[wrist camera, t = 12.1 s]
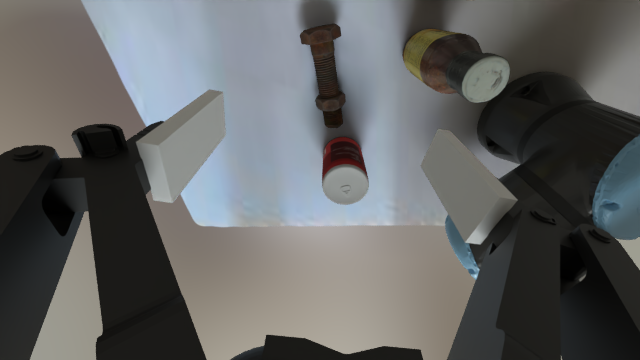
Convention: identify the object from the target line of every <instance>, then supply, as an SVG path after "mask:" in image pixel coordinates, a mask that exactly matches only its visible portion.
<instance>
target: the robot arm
mask: <svg viewBox="0 0 640 360" xmlns="http://www.w3.org/2000/svg"><path fill="white" fill-rule="evenodd" d="M477 133H478V138H479V141H480V143H481V144H482V146H483V147H484V148H485V149H486V150H488V151H489V152H490V153H491V154H493V155H494V156H496V157H498V158H501V159H504V160H507V161H511V162H514V163H517V164H520V165H519V166H518V167H516V168H515V169H513V170H512V171H510V172H509V173H507V174H506V175H504V176H503V177H501V178H500V179H498V178H496V177H495V176H494V175H493V174H492V173H491V172H490V171H489V170H488V169H487V168H486V167H485V166H484V165H483V164H482V163H481V162H480V161H479V160H478V159H477V158H476V157H475V156H474V155H473V154H472V153H471V152H470V151H469V150H468V149H467V148H466V147H465V146H464V145H463V144H462V143H461V141H460V140H459V139H458V138H457V137H456V136H455V135H454V134H453V133H452V132H451V131H448V130H443V129H438V130H437V132H436V135H435V137H434V139H433V141H432V143H431V145H430V147H429V149H428V151H427V153H426V155H425V157H424V159H423V162H422V164H421V168H422V169H423V171H424V173H425V175H426V176H427V178H428V180H429V181H430V183H431V185H432V187H433V188H434V190H435V192H436V193H437V195H438V197H439V199H440V200H441V202H442V204H443V206H444V207H445V209H446V211H447V212H448V216H447V217H446V221H445V229H446V233H447V236H448V239H449V242H450V244H451V246H452V248H453V250H454V252H455V254H456V256H457V257H458V259H459V260H460V262H461V263H462V265H463V266H464V267H465V268H466V269H468V271H469V273H470V275H471V276H472V277H473V278H474V279H475V280H476V282H475V284H474V287H473V290H472V293H471V295H470V298H469V301H468V304H467V307H466V309H465V312H464V315H463V317H462V320H461V323H460V326H459V328H458V331H457V334H456V337H455V339H454V342H453V345H452V348H451V350H450V353H449V356H448V359H447V360H561V356H562V360H640V270H639V269H638V267H637V266H636V265H635V263H634V262H633V260H632V259H631V258H630V257H629V255H628V254H627V252H626V251H625V249H624V248H623V247H622V245H621V244H620V243H619V242H618V241H617V240H616V239H615V238H617V239H623V240H633V239H636V238H638V237H640V117H639V116H636V115H633V114H631V113H628V112H625V111H622V110H619V109H616V108H613V107H610V106H607V105H604V104H601V103H599V102H596V101H594V100H593V99H592V98H591V97H590V96H589V94H588V93H587V92H586V91H585V90H584V89H583V88H582V87H581V86H580V85H579V84H578V83H577V82H576V81H575V80H573V79H571V78H569V77H567V76H564V75H560V74H557V73H553V72H539V73H534V74H530V75H527V76H524V77H522V78H519V79H517V80H515V81H513V82H512V83H510V84H509V85H507V86H506V87H504V89H503V90H502V91H501V92H500V93H499V94H498V95H497V96H495V97H494V98H492V99H491V100H490V102H489V103H488V104H487V106H486V107H485V109H484V110H483V112H482V114H481V116H480V119H479V122H478V128H477ZM225 135H226V131H225V116H224V101H223V92H221V91H215V90H208V91H207V92H205V93H204V94H203V95H201V96H200V97H198V98H197V99H196V100H194V101H193V102H191V103H190V104H189V105H187V106H186V107H184V108H183V109H182V110H180V111H179V112H177V113H176V114H175V115H173V116H172V117H170V118H169V119H168V120H166V121H165V122H164V121H160V122H157V123H154V124H151V125H149V126H148V127H146V128H145V129H143V131H140V132H139V133H137V135H134V136H133V137H131V138H130V139H128V140H127V141H126V140H125V137H124V134H123V131H122V129H121V128H120V127H119V126H116V125H111V124H94V125H88V126H84V127H81V128H78V129H77V130H75V131H73V133H72V138H73V139H74V142H75V144H76V146H77V148H78V150H79V152H80V154H81V156H82V158H59V156H58V154H57V152H56V151H55V149H54V148H52V147H49V146H45V145H33V146H22V147H17V148H14V149H12V150H10V151H7V152H5V153H3V154H1V155H0V360H30V357H31V354H32V351H33V349H34V346H35V344H36V341H37V338H38V335H39V333H40V330H41V327H42V325H43V322H44V319H45V317H46V314H47V311H48V308H49V306H50V303H51V300H52V298H53V295H54V292H55V290H56V287H57V284H58V282H59V279H60V276H61V274H62V271H63V268H64V265H65V263H66V260H67V257H68V255H69V252H70V249H71V246H72V244H73V241H74V238H75V236H76V233H77V230H78V228H79V225H80V222H81V220H82V217H83V214H84V212H85V211H88V212H89V219H90V228H91V236H92V244H93V251H94V260H95V268H96V276H97V284H98V292H99V300H100V308H101V316H102V324H103V333H102V335H101V336H99V337H98V338H97V342H96V360H206V357H205V354H204V352H203V349H202V346H201V343H200V341H199V338H198V335H197V333H196V330H195V327H194V324H193V322H192V319H191V316H190V314H189V311H188V308H187V305H186V303H185V300H184V298H183V296H182V294H181V291H180V288H179V286H178V283H177V280H176V278H175V275H174V272H173V269H172V267H171V264H170V261H169V258H168V256H167V253H166V250H165V247H164V245H163V242H162V239H161V237H160V234H159V231H158V228H157V225H156V223H155V220H154V217H153V215H152V212H151V209H150V206H149V204H148V201H147V198H146V194H147V193H148V192H149V191H150V190H151V192H152V196H153V199H154V201H161V202H169V203H173V202H174V201H175V199H176V198H177V197H178V195H179V194H180V193H181V192H182V190H183V189H184V188H185V187H186V185H187V184H188V183H189V182H190V180H191V179H192V178H193V176H194V175H195V174H196V173H197V171H198V170H199V169H200V167H201V166H202V165H203V164H204V162H205V161H206V160H207V158H208V157H209V156H210V155H211V153H212V152H213V151H214V150H215V148H216V147H217V146H218V144H219V143H220V142H221V141H222V139H223V138H224V137H225ZM231 360H423V358H422V354H421V350H418V349H407V348H398V347H388V346H383V347H378V348H374V349H370V350H366V351H361V352H356V353H352V354H342V353H340V352H338V351H335V350H333V349H330V348H328V347H325V346H323V345H320V344H318V343H315V342H313V341H311V340H308V339H305V338H296V337H285V336H275V335H266V339H265V345H264V346H261V347H257V348H253V349H251V350H248V351H245V352H243V353H241V354H239V355H237V356H235V357H234V358H232V359H231Z"/></svg>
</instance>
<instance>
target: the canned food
mask: <svg viewBox="0 0 640 360" xmlns="http://www.w3.org/2000/svg"><path fill="white" fill-rule="evenodd" d="M322 186H323V191H324V193H325V195H326V196H327V198H328V199H330V200H331V201H333V202H335V203H337V204H342V205H348V204H353V203H356V202H358V201H360V200H361V199H362V198H363V197H364V196H365V195H366V193H367V191H368V187H369V182H368V176H367V172H366V168H365V164H364V160H363V155H362V151H361V148H360V147H359V145H358V144H357V143H356V142H355V141H354V140H352V139H350V138H347V137H338V138H335V139H333V140H331V141H330V142H329V143H328V144H327V146H326V147H325V149H324V152H323V173H322Z"/></svg>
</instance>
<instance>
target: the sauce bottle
mask: <svg viewBox="0 0 640 360" xmlns="http://www.w3.org/2000/svg"><path fill="white" fill-rule="evenodd" d="M403 60H404V63H405V66H406V68H407V69H408V70H409V71H410V72H411V73H412V74H413V75H414V76H416V77H417V78H418V79H420V80H421V81H422V82H423V83H425V84H426V85H427V86H429V87H430V88H432V89H434V90H435V91H438V92H440V93H445V94H451V93H456V92H458V93H459V94H460V95H461V96H462V97H464V98H465V99H466V100H468V101H470V102H474V103H479V102H485V101H488V100H490V99H492V98H494V97H495V96H497V95H498V94H499V93H500V92H501V91H502V90H503V89H504V87H505V86H506V84H507V82H508V79H509V76H510V67H509V63H508V62H507V60H506V59H504V58H503V57H501V56H498V55H496V54H492V53H484V54H483V53H482V51H481V49H480V46H479V43H478V42H477V41H476V40H475V39H474V38H473V37H471V36H469V35H466V34H462V33H455V32H449V31H443V30H437V29H425V30H422V31H420V32H418V33H416V34H414V35H413V36H412V37H411V38H410V39H409V40H408V42H407V44H406V46H405V48H404V51H403Z"/></svg>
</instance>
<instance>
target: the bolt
mask: <svg viewBox="0 0 640 360" xmlns="http://www.w3.org/2000/svg"><path fill="white" fill-rule="evenodd" d="M340 36H341V30H340V27H339V26H338V25H337V24H329V25H323V26H318V27H314V28H310V29H307V30H304V31H303V32H302V33H301V35H300V38H301V43H302V44H306V45H310V47H311V52H312V55H313V59H314V62H315V63H314V64H315V69H316V70H315V71H316V76H317V80H318V81H317V82H318V87H319V91H320V92H319V93H320V94H319V95H318V96H317V98H316V100H315V101H316V106H317V107H318V109H320V110H322V111H323V114H324V120H325V125H326V127H328V128H338V127H340V126H341V125H342V124H343V120H342V111H341V107H342V106H343V105H344V104H345V102H346V99H345V94H344V93H343V92H341V91H339V89H338V88H339V87H338V83H337V82H338V81H337V80H338V79H337V74H336V73H337V72H336V67H335V66H336V65H335V60H334V59H335V58H334V57H335V56H334V43H333V40H334V39H336V38H338V37H340Z"/></svg>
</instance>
